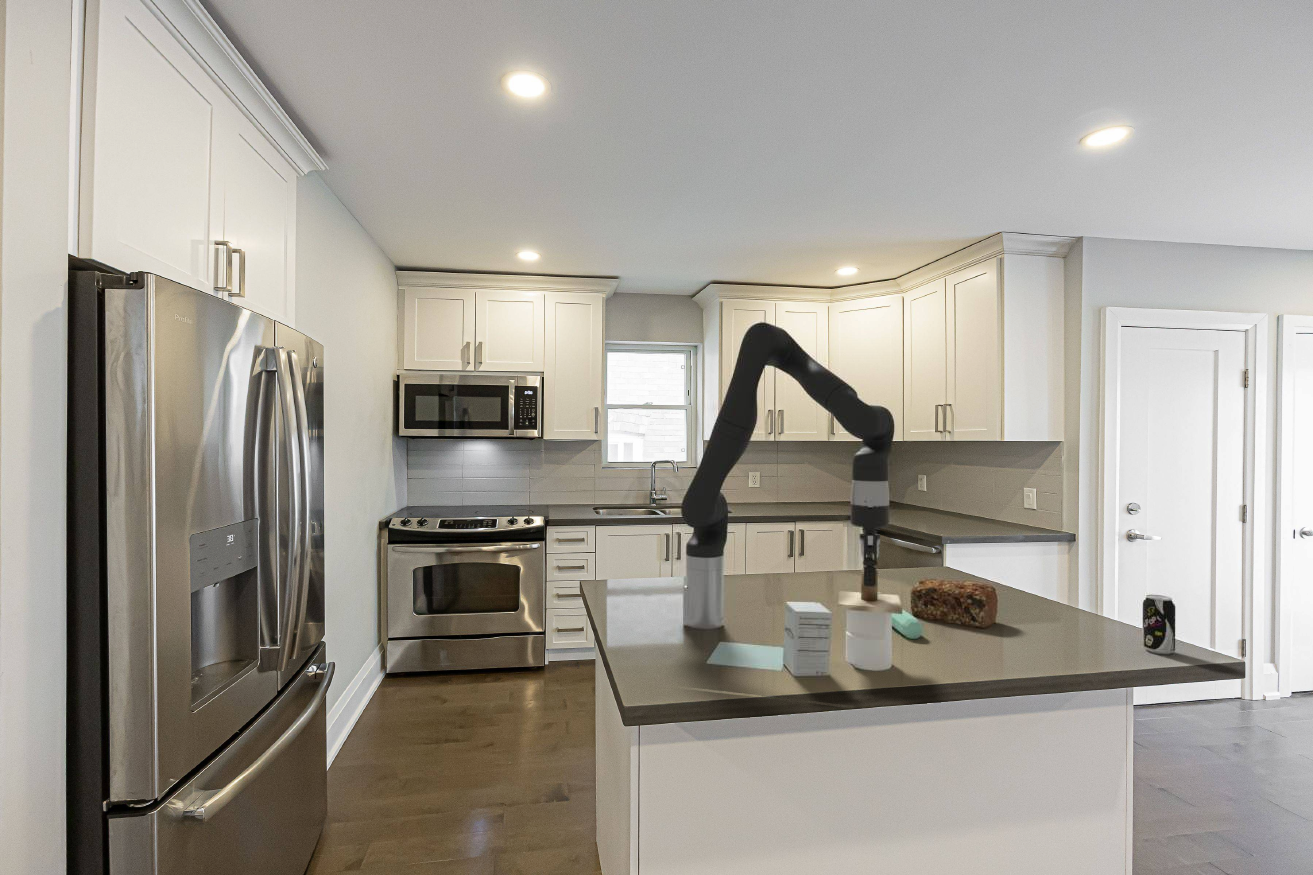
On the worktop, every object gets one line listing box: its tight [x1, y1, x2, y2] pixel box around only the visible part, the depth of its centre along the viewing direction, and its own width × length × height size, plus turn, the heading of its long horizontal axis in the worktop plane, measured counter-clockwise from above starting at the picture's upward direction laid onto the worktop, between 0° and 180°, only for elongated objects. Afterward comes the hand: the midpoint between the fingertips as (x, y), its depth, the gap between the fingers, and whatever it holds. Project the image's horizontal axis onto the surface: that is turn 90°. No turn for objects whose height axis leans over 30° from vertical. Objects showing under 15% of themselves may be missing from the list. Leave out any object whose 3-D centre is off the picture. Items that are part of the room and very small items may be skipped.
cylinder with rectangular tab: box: [845, 610, 893, 671], centre depth 138 cm, size 9×9×12 cm
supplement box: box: [783, 601, 833, 677], centre depth 133 cm, size 7×7×13 cm
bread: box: [909, 578, 999, 629], centre depth 173 cm, size 19×11×10 cm, turn 45°
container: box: [878, 591, 924, 639], centre depth 167 cm, size 6×6×25 cm
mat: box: [706, 641, 785, 672], centre depth 141 cm, size 15×15×1 cm
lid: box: [838, 568, 903, 614], centre depth 138 cm, size 12×12×7 cm
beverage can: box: [1141, 594, 1176, 655], centre depth 147 cm, size 6×6×12 cm
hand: (869, 581), depth 138 cm, fingers open, 8 cm apart
